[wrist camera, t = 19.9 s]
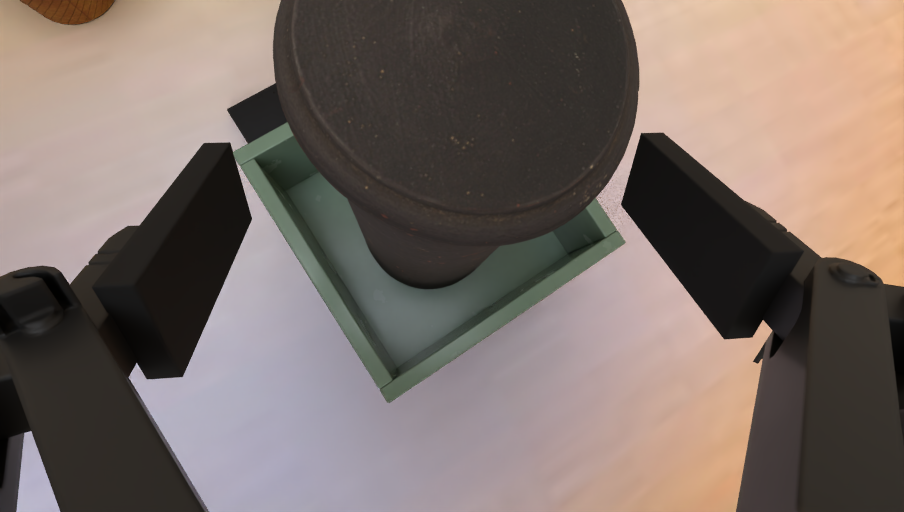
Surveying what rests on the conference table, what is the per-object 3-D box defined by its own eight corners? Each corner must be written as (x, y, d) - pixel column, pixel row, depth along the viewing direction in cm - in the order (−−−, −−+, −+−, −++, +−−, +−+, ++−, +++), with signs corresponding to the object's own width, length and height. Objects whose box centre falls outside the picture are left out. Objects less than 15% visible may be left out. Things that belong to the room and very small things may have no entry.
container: (481, 147, 30) (611, -173, 11) (509, 280, 29) (712, 199, 10) (350, 167, 29) (227, -144, 10) (374, 306, 28) (290, 274, 9)
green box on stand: (230, 113, 34) (-203, -380, 10) (398, 24, 36) (373, -561, 12) (395, 376, 33) (351, 537, 8) (560, 266, 35) (898, 144, 11)
